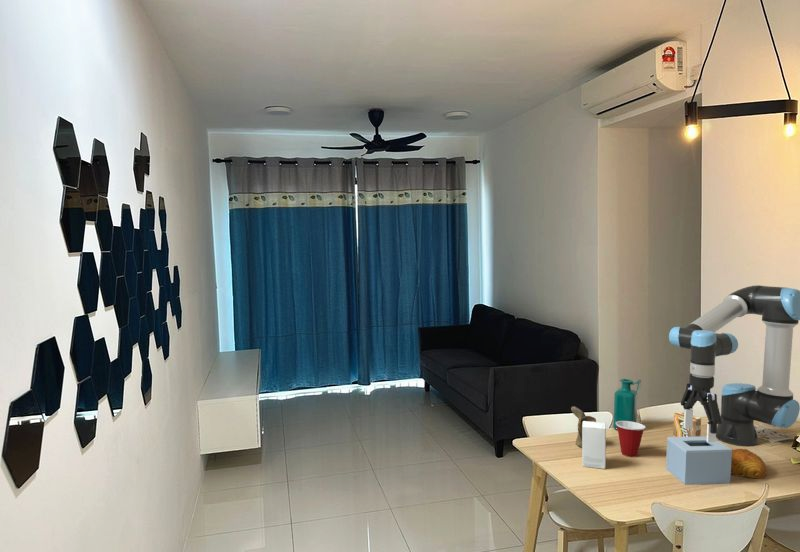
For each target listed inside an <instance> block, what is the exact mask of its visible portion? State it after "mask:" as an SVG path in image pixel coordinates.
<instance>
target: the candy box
mask: <svg viewBox="0 0 800 552" xmlns="http://www.w3.org/2000/svg"><path fill="white" fill-rule="evenodd" d="M672 430H673V433H672V437H700V436H701V433H702V417H700V416H696V415H693V423H692V427H689V428H685V427H684V412H682V411H678V412H674V413H673V429H672Z"/></svg>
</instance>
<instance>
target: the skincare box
mask: <svg viewBox="0 0 800 552" xmlns="http://www.w3.org/2000/svg"><path fill="white" fill-rule="evenodd" d="M606 430H607V426H606V423H605V422H603V421H602V422H601V421H600V422H599V421H596V422H590V421H583V425H582V448H581V450H582V452H581V453H582V454H581V457H582V458H581V461H582V464H581V465H582V467H583V468H584V467H585V468H592V469H594V468H595V469H602V470H605V469H606V461H607V460H606V456H607V455H606V454H607V452H606V451H607V446H606V445H607V443H606V442H607V438H606V437H607V431H606Z"/></svg>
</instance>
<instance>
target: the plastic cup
mask: <svg viewBox="0 0 800 552" xmlns="http://www.w3.org/2000/svg"><path fill="white" fill-rule="evenodd" d="M616 425H617V429H618V430H617V432H618V433H617V434H618V441H619V445H620V452H621V454H622V455H623V456H626V457H630V458H635V457H637V456H638V454H639V449H640V446H641V441H642V437H643V434H644V431H645V430H646V425H644V424H642V423H640V422H637V421H636V422H630V421H617V422H616Z"/></svg>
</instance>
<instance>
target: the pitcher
mask: <svg viewBox="0 0 800 552" xmlns="http://www.w3.org/2000/svg"><path fill="white" fill-rule="evenodd" d="M619 382H621V387H619V388H618V389H617V390H615V391H614V394H613V395H614V396H613V397H614V398H613V420H612V421H613V424H612V425H613V429H614V430H615V431H618V429H616V428H617V425H616V422H617V421H630V422H636V423H637V418H638V417H637V414H638V392H639V391H640V388H641V384H642V380H641V379H636V380H635V381H633V379H630V378H621V379H619ZM635 384H637V385H636V386H637V387H636V390H635V389H632V388H631V387H632V386H633V385H635ZM631 385H632V386H631Z"/></svg>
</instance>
